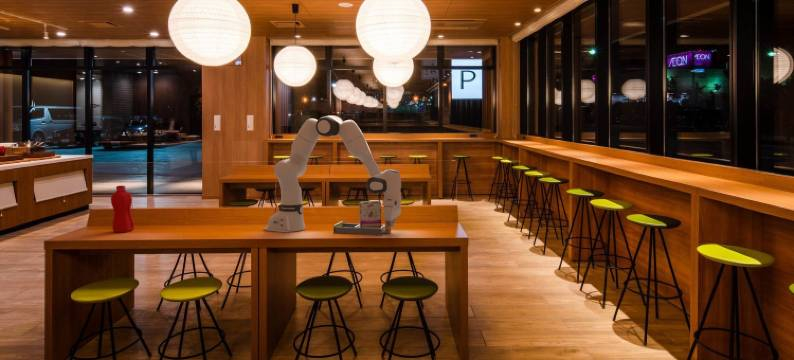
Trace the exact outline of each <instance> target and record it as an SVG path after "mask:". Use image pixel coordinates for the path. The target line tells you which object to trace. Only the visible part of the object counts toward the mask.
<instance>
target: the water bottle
mask: <svg viewBox="0 0 794 360" xmlns="http://www.w3.org/2000/svg"><path fill="white" fill-rule="evenodd" d="M115 188H116V191H114V193H112V194H111V196H110V203H111V204H110V205H111V207H112V209H113V217H112V218H113V219H112V231H113V232H114V233H128V232H132V231H134V229H135V223H134V219H133V217H132V214H131V210H132V209H133V197H132V194H131V193H130V192H129V191H127V190H126V186H125V185H117V186H116V187H115Z"/></svg>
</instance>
